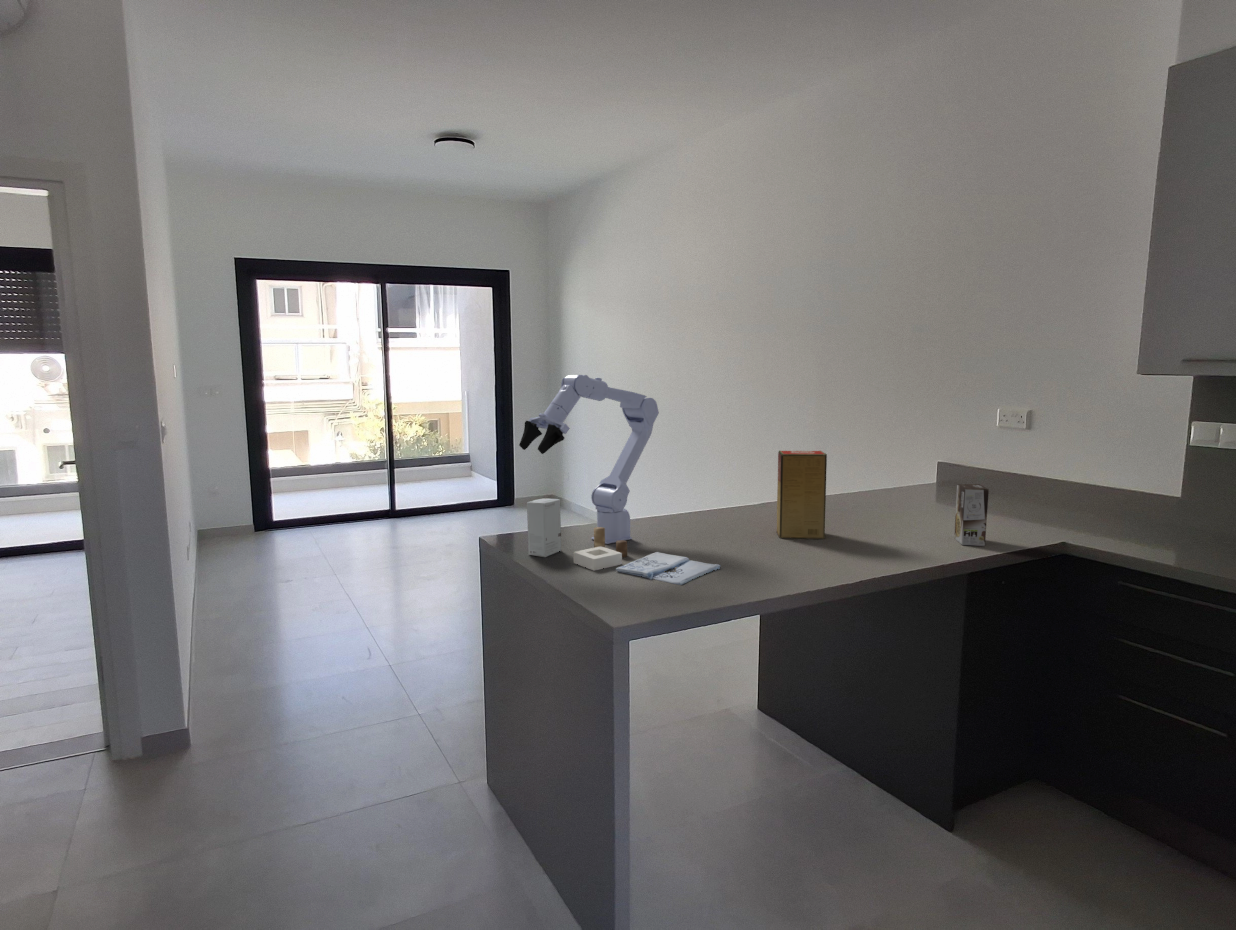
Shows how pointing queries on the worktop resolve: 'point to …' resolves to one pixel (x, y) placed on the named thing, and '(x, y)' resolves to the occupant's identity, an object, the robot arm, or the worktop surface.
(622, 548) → the walnut dowel
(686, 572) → the folded cloth
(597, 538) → the oak dowel
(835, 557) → the worktop surface
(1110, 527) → the worktop surface
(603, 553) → the socket block
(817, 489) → the food packaging
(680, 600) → the worktop surface
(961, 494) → the coffee box
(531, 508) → the skincare box
